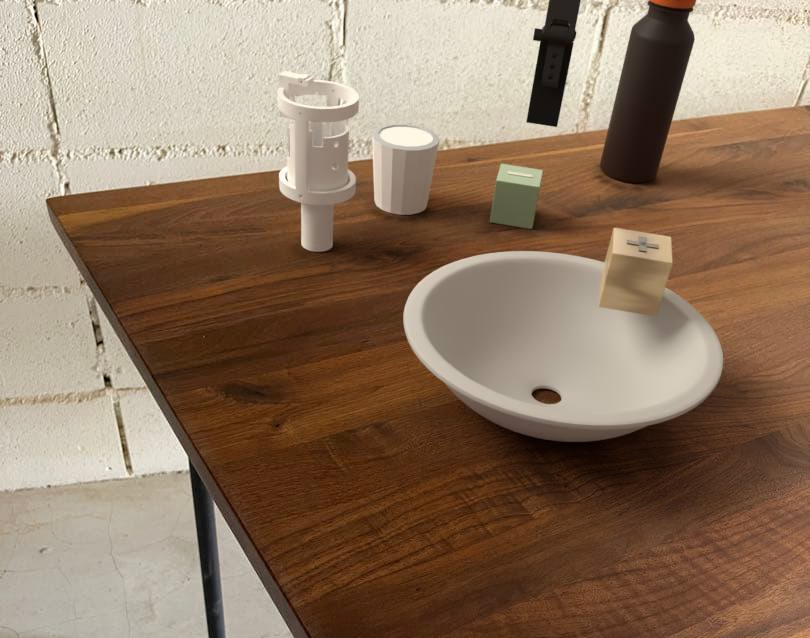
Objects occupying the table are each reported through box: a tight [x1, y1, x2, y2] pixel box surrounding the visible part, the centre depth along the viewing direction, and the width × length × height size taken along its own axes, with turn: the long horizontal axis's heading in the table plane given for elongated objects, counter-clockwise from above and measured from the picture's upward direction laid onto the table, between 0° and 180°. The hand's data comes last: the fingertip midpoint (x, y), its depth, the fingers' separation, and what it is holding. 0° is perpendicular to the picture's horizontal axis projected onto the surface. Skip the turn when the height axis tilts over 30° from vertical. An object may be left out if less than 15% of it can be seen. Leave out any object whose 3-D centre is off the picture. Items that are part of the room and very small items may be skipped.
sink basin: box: [402, 250, 724, 443], centre depth 69 cm, size 24×24×7 cm
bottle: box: [599, 0, 697, 184], centre depth 98 cm, size 7×7×20 cm
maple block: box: [598, 227, 674, 316], centre depth 69 cm, size 4×4×5 cm
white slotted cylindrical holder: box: [276, 70, 360, 253], centre depth 81 cm, size 7×7×15 cm
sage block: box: [489, 163, 544, 230], centre depth 92 cm, size 4×4×5 cm
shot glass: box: [371, 123, 441, 216], centre depth 92 cm, size 7×7×7 cm
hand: (546, 97), depth 82 cm, fingers open, 13 cm apart
